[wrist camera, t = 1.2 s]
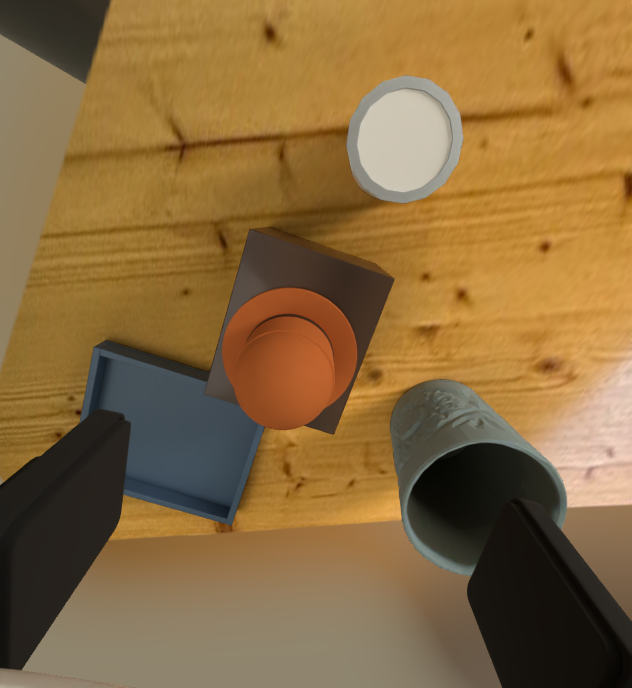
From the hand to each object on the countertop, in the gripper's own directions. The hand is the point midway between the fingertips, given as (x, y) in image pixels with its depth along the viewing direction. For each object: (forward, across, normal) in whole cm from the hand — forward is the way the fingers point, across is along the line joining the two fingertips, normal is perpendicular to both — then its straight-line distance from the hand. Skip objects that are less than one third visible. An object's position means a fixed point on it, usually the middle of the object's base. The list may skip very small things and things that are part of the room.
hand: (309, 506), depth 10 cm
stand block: (+25, +1, +1) cm, 25 cm away
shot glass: (+25, -2, -12) cm, 28 cm away
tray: (+25, +10, +14) cm, 31 cm away
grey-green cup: (+25, -13, +8) cm, 29 cm away
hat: (+16, +1, +2) cm, 16 cm away
